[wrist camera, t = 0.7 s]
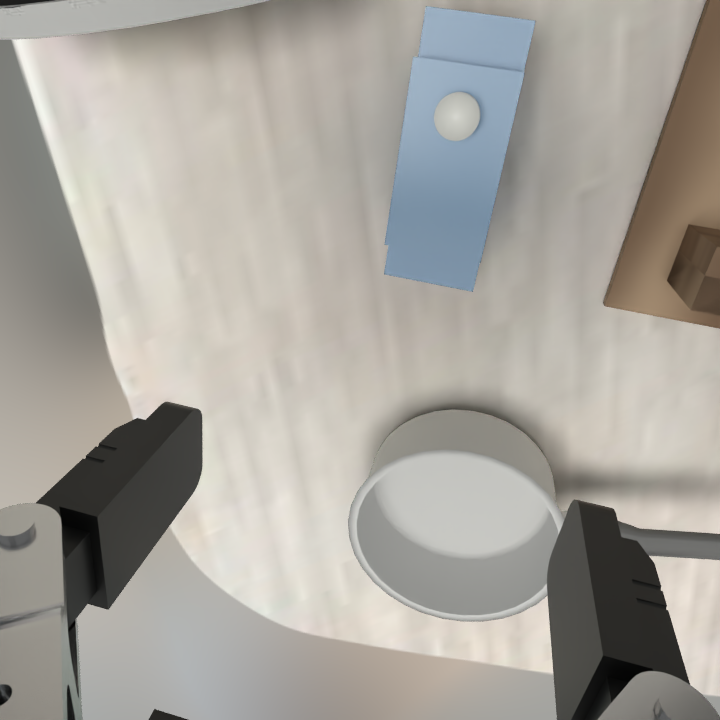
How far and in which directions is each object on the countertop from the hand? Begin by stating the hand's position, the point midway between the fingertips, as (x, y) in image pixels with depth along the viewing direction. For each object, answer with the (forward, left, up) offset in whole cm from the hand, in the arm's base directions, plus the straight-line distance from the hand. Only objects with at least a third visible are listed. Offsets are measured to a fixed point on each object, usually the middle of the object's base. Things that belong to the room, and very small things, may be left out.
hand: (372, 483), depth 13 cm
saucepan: (+13, +8, -20) cm, 25 cm away
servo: (-5, 0, -20) cm, 20 cm away
